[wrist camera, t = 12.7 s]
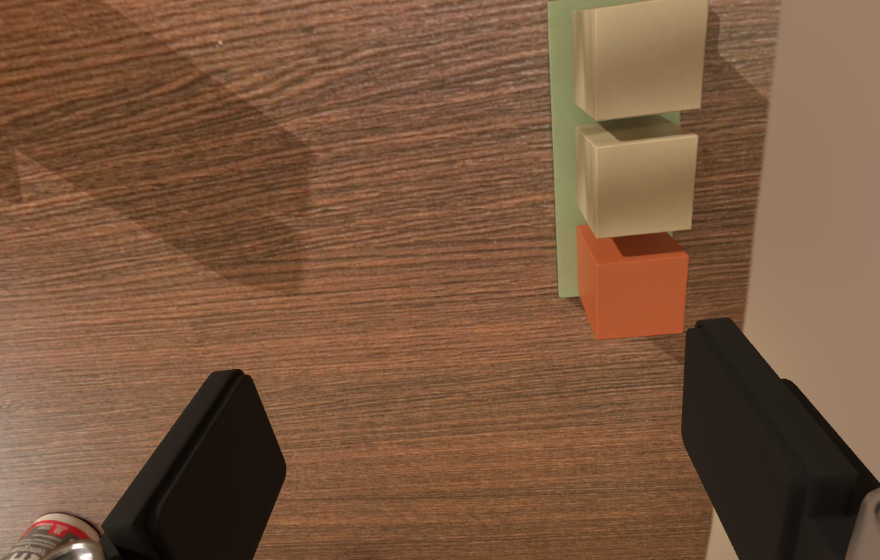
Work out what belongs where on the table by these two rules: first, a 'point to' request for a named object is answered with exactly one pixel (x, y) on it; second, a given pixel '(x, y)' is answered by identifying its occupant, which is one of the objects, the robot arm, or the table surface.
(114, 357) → the table surface
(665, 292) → the terracotta cube
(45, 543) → the pill bottle
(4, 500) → the table surface
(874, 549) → the robot arm
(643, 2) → the word board
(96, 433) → the table surface
